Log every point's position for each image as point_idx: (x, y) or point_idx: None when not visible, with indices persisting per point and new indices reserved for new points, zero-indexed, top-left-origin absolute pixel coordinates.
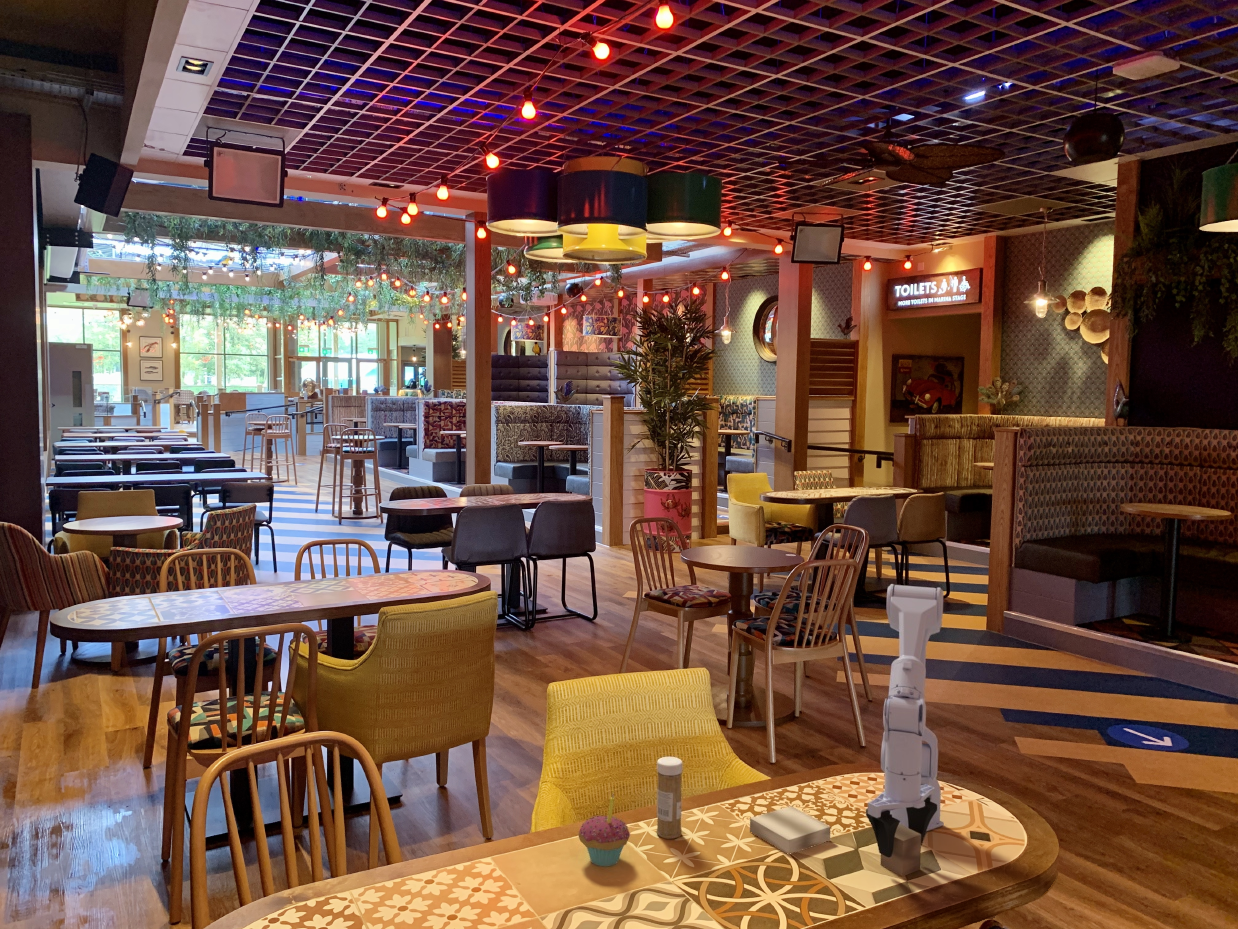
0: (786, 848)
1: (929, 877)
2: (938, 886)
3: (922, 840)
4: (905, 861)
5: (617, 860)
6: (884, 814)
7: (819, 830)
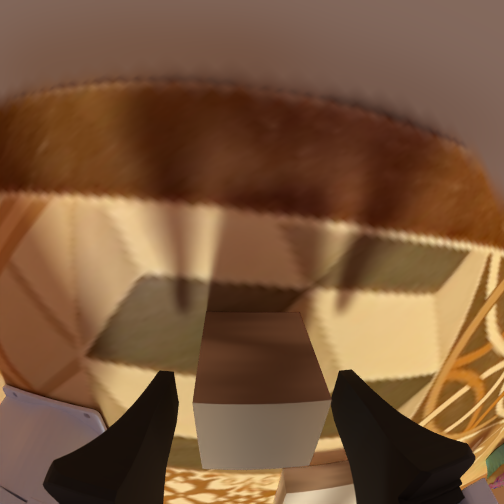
0: None
1: (224, 261)
2: (252, 203)
3: (159, 382)
4: (291, 340)
5: (500, 448)
6: (443, 502)
7: (321, 489)
